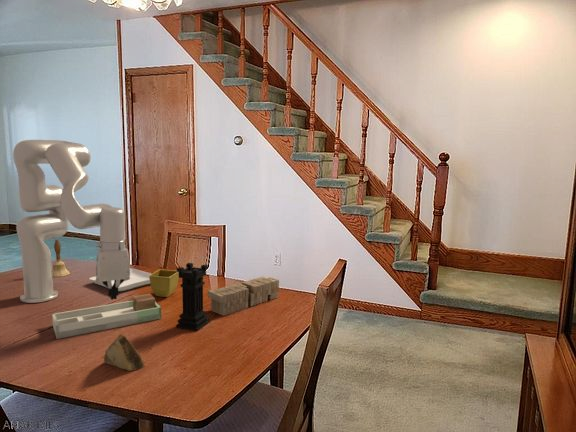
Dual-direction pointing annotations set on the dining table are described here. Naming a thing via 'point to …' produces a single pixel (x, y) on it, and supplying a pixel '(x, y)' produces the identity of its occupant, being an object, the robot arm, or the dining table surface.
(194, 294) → the chess piece
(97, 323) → the tray
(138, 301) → the walnut block
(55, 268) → the hand bell
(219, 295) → the block tower
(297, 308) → the dining table surface
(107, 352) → the rock
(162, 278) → the flower pot
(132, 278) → the salad plate
